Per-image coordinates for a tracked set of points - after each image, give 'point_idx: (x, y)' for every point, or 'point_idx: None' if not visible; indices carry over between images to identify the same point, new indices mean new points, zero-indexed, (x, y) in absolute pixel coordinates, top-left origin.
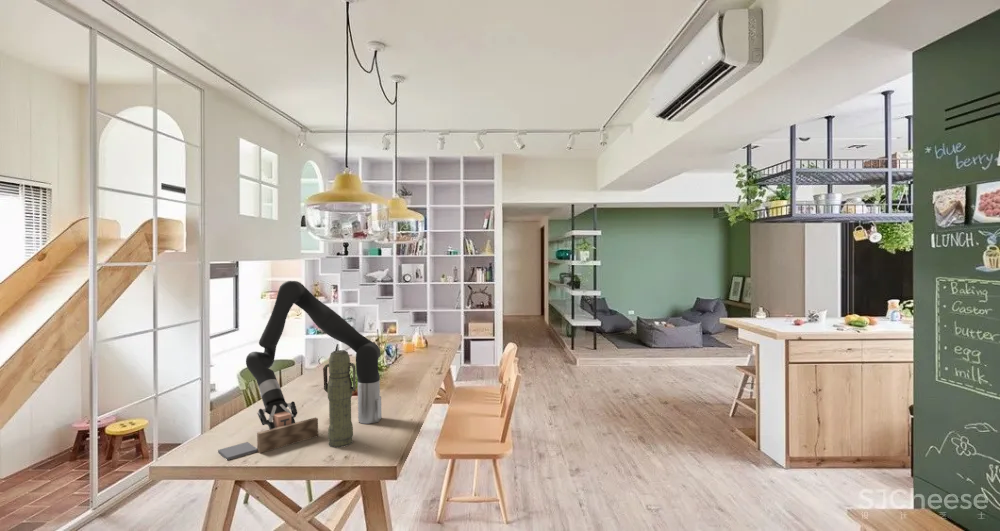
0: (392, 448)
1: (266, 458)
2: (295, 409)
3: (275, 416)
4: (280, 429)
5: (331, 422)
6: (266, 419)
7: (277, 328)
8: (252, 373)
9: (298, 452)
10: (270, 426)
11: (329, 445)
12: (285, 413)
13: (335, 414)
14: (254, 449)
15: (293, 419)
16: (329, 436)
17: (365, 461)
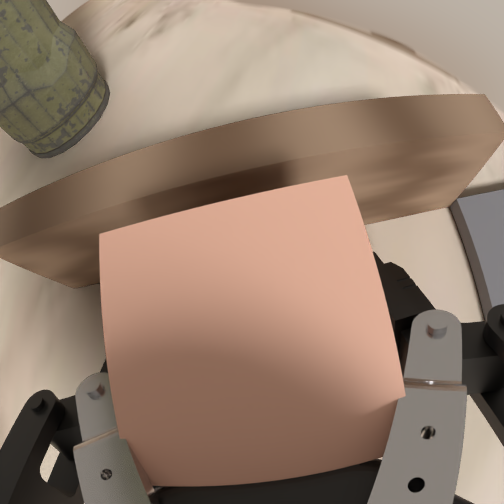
0: None
1: (394, 96)
2: (11, 446)
3: (382, 306)
4: (320, 114)
5: (53, 16)
6: (499, 331)
7: None
8: None
9: (241, 84)
10: (416, 288)
11: (106, 101)
12: (165, 338)
13: None
14: (471, 201)
15: None
16: (89, 65)
17: (119, 3)
